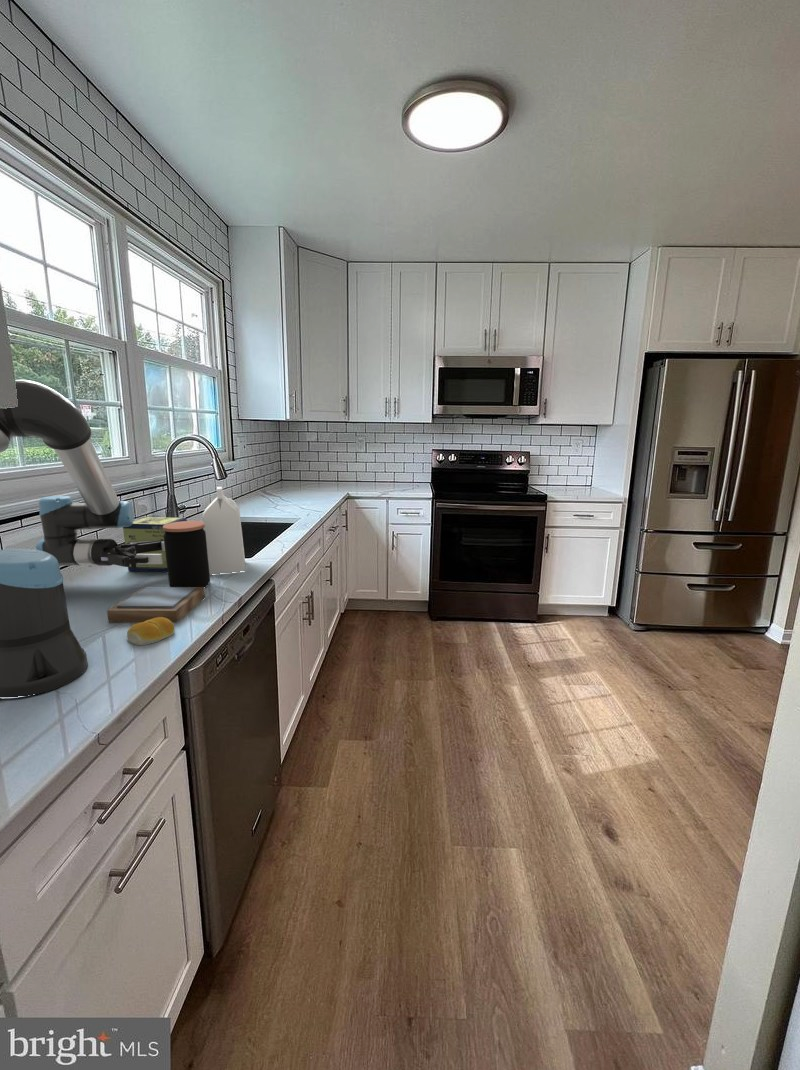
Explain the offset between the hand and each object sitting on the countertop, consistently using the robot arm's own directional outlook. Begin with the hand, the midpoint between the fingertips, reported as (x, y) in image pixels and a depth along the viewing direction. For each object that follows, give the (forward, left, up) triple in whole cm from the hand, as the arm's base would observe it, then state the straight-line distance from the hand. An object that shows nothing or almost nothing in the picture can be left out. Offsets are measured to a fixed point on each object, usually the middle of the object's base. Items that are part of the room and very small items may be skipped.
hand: (173, 552), depth 131 cm
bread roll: (-33, -10, -10) cm, 36 cm away
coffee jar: (-1, -4, -10) cm, 11 cm away
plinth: (-18, -4, -10) cm, 21 cm away
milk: (+16, -8, -10) cm, 21 cm away
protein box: (+18, +14, -10) cm, 25 cm away
